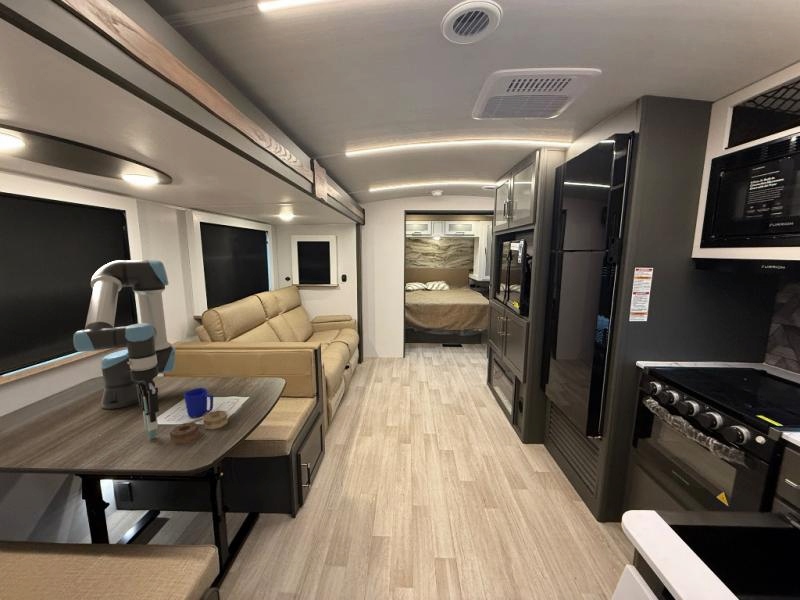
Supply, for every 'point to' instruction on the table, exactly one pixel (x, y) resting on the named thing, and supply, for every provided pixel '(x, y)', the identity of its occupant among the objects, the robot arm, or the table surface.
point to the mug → (197, 402)
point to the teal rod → (152, 432)
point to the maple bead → (215, 419)
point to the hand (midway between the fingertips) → (151, 427)
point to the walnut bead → (184, 432)
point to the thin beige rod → (195, 419)
